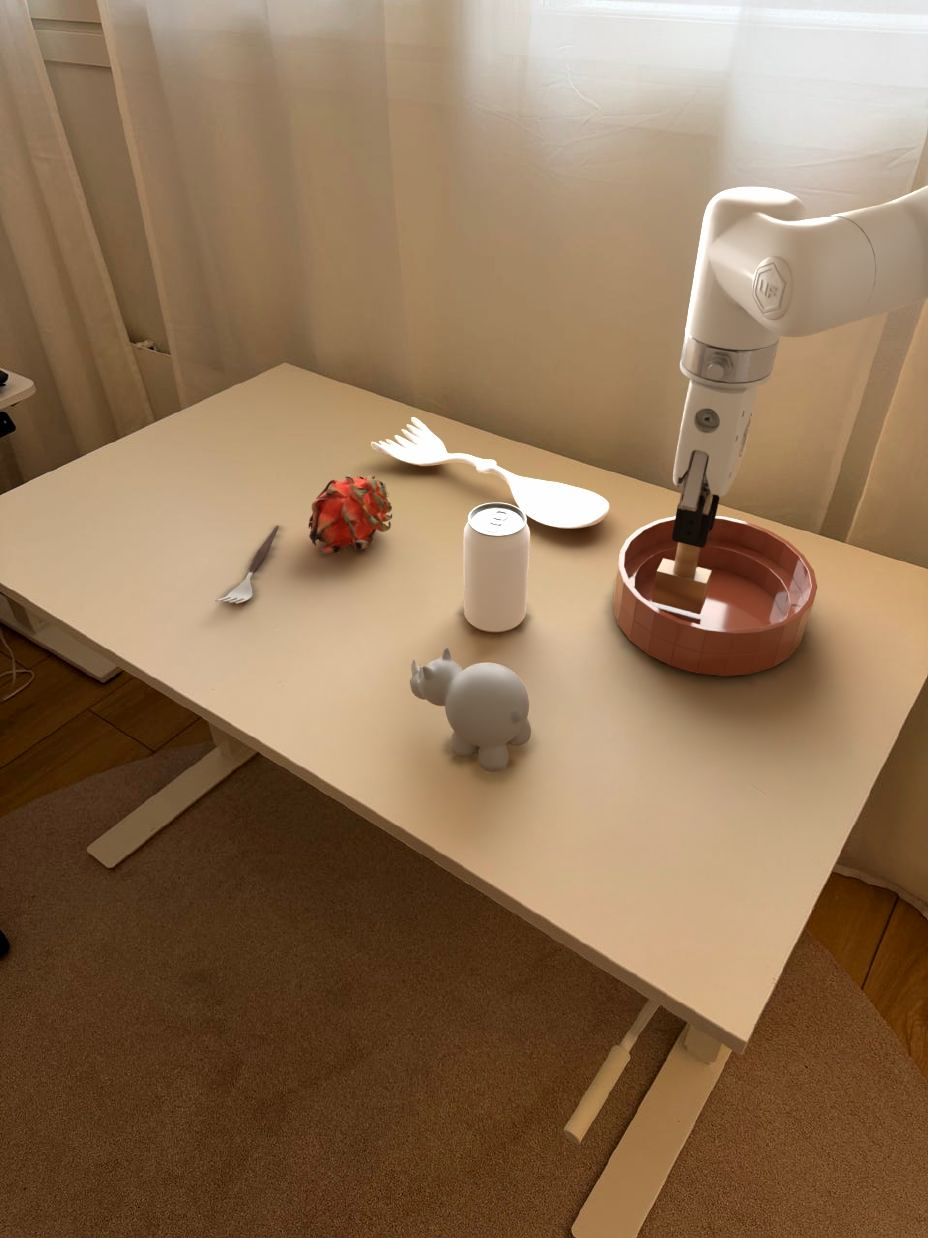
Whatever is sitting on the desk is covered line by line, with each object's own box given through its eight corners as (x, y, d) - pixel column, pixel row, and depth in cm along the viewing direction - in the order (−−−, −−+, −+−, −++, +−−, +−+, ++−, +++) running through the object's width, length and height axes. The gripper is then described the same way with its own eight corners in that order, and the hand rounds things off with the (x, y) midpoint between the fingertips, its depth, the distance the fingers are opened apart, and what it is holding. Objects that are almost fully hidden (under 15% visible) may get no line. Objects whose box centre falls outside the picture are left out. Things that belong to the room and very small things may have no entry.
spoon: (413, 435, 121) (412, 412, 119) (620, 515, 107) (624, 490, 104) (369, 463, 116) (367, 439, 114) (581, 551, 101) (584, 525, 99)
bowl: (814, 585, 96) (829, 540, 92) (784, 703, 83) (799, 656, 79) (641, 542, 102) (648, 498, 98) (587, 645, 89) (593, 599, 85)
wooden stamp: (705, 601, 92) (731, 484, 83) (699, 614, 90) (725, 497, 81) (657, 588, 93) (678, 472, 84) (651, 601, 92) (671, 485, 83)
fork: (289, 530, 105) (287, 516, 103) (240, 617, 93) (237, 603, 91) (268, 528, 105) (265, 514, 104) (216, 615, 93) (213, 600, 92)
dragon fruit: (396, 528, 107) (328, 588, 102) (347, 476, 107) (275, 533, 101) (421, 498, 100) (348, 561, 94) (368, 442, 100) (292, 502, 94)
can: (454, 625, 92) (452, 529, 84) (477, 588, 96) (477, 494, 88) (513, 641, 90) (517, 544, 82) (534, 603, 94) (540, 507, 86)
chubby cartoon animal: (440, 679, 86) (438, 612, 80) (543, 738, 80) (548, 669, 74) (389, 723, 81) (383, 655, 76) (494, 788, 76) (496, 719, 70)
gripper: (755, 402, 67) (712, 592, 80) (790, 325, 79) (747, 501, 91) (658, 384, 70) (630, 571, 82) (705, 311, 81) (675, 485, 93)
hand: (692, 533), depth 86 cm, fingers closed on wooden stamp, 2 cm apart
